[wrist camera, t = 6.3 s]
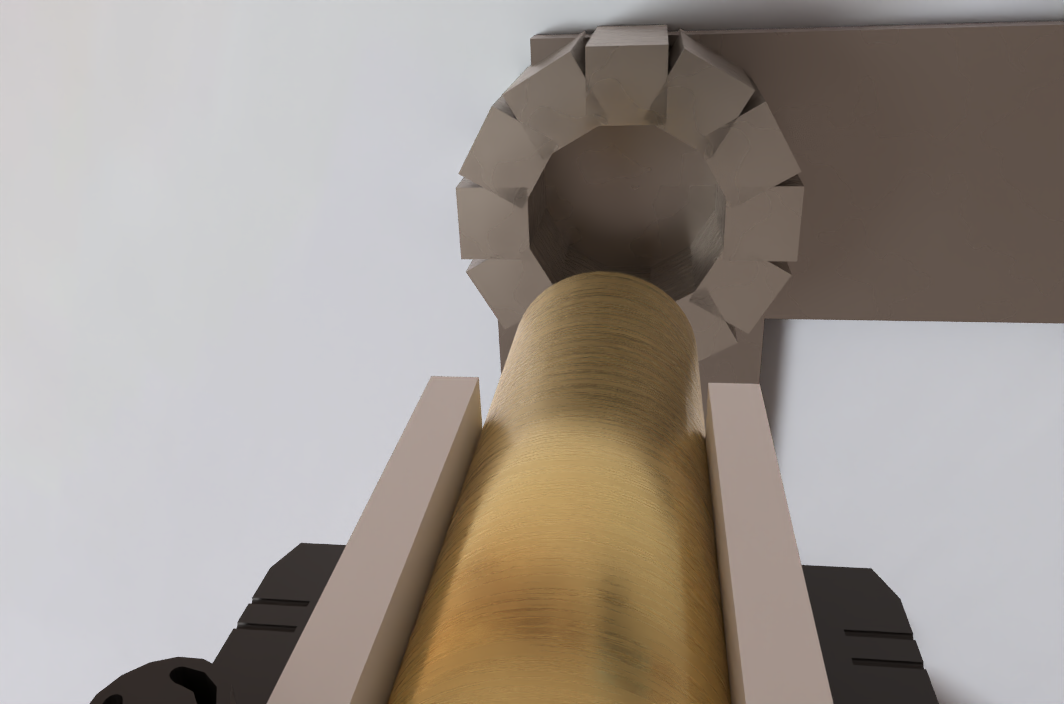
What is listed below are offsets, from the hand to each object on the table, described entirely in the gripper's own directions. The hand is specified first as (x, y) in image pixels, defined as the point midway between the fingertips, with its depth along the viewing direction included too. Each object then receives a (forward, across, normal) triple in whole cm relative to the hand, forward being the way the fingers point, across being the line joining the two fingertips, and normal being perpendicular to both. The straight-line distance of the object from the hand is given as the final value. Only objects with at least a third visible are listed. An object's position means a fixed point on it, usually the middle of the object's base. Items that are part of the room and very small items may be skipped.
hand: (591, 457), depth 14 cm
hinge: (+17, +6, -4) cm, 18 cm away
